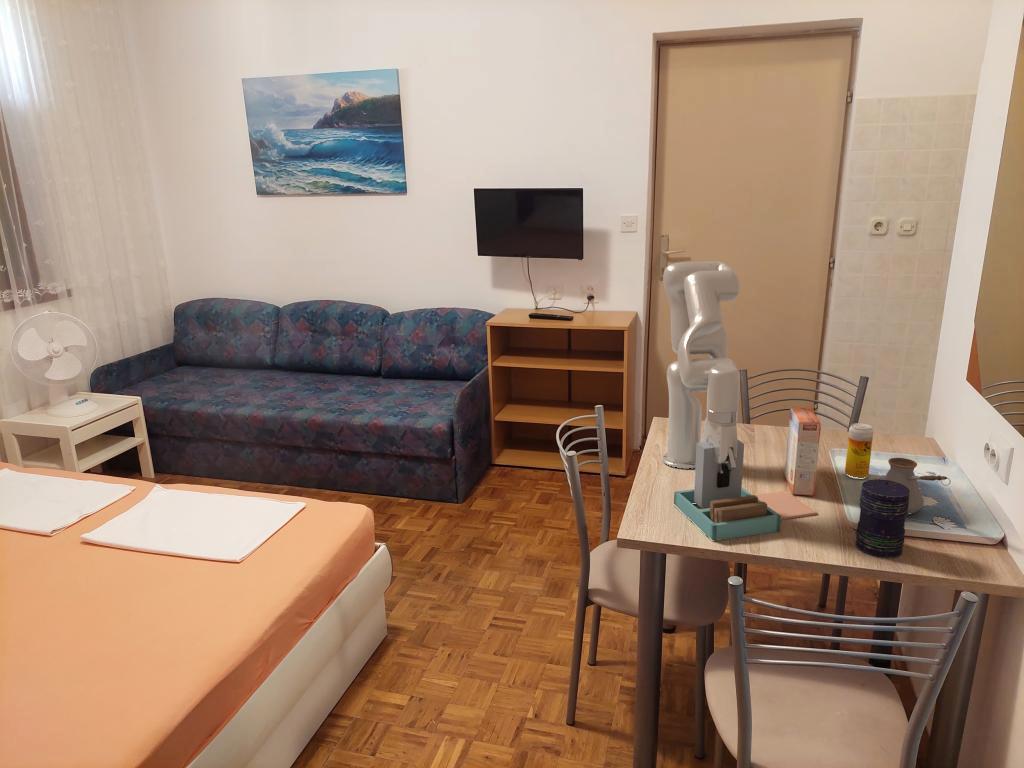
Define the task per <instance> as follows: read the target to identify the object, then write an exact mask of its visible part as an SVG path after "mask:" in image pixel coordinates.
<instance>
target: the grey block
mask: <svg viewBox="0 0 1024 768" xmlns="http://www.w3.org/2000/svg"><path fill="white" fill-rule="evenodd" d="M744 454H745V443H744V442H742V441H741V440H739V439H738V438H737V457H736V461H735V464H736V468H735V469H732V470H731V473H730V481H729V486H728V487H723V488H718V487H717V473H719V464H718V463H716V462H715V461H714V447H713V446H712V445H710V444H708V443H707V442H703V443H702V442H700V443H697V444H696V466H695V468H694V488H693V489H694V502H695V503H696V504H697V506H698V507H700V508H702V509H703V508H704V509H705V508H708V507H709V508H710V501H715V500H722V499H730V498H737V497H741V488H743V487H742V485H743V469H744V456H745V455H744ZM726 460H727V459H726ZM724 466H727V464H723V467H724Z"/></svg>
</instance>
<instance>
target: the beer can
mask: <svg viewBox="0 0 1024 768" xmlns="http://www.w3.org/2000/svg"><path fill="white" fill-rule="evenodd" d="M873 436H874V430H873V426H872V425H870V424H867V423H862V422H861V423H860V422H858V423H857V422H854V423H852V424H851V425H850V427H849V428H848V438H847V446H846V447H847V448H846V458H845V470H844V474H845V475H846V474H848V475H850V476H853V477H858V478H864V477H866V478H868V477H869V474H870V465H871V455H872V447H873V446H872V445H873ZM867 476H868V477H867Z"/></svg>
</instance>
